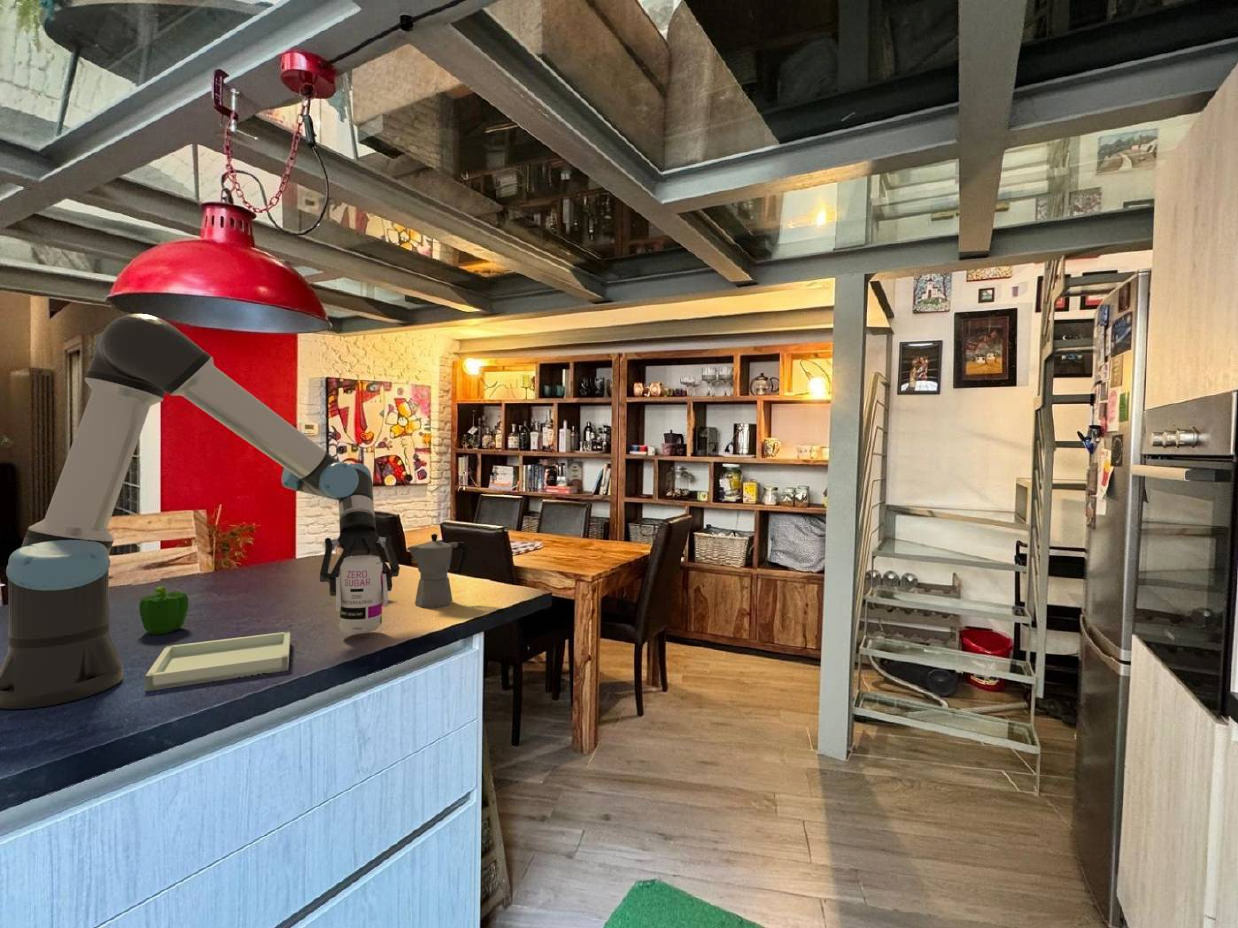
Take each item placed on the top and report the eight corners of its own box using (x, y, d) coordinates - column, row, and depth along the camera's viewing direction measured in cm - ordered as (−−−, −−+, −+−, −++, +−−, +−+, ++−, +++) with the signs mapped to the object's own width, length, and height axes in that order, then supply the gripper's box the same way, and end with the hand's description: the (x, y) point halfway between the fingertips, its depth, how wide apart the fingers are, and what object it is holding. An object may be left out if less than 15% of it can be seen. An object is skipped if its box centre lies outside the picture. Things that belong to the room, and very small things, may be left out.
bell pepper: (161, 624, 128) (161, 580, 127) (197, 626, 127) (197, 581, 127) (127, 636, 119) (126, 589, 119) (164, 638, 119) (164, 590, 118)
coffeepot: (407, 610, 142) (407, 537, 141) (406, 601, 150) (406, 532, 150) (471, 604, 147) (471, 534, 147) (466, 596, 156) (466, 530, 156)
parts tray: (145, 691, 93) (145, 676, 93) (166, 659, 107) (166, 646, 107) (288, 670, 102) (288, 656, 102) (290, 643, 116) (290, 631, 116)
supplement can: (374, 620, 127) (375, 553, 127) (386, 630, 121) (387, 559, 121) (334, 627, 122) (336, 557, 122) (345, 637, 116) (346, 563, 116)
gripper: (403, 528, 140) (413, 609, 126) (305, 531, 130) (304, 621, 116) (407, 508, 135) (418, 590, 121) (305, 510, 125) (304, 601, 111)
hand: (362, 605), depth 119 cm, fingers closed on supplement can, 8 cm apart
